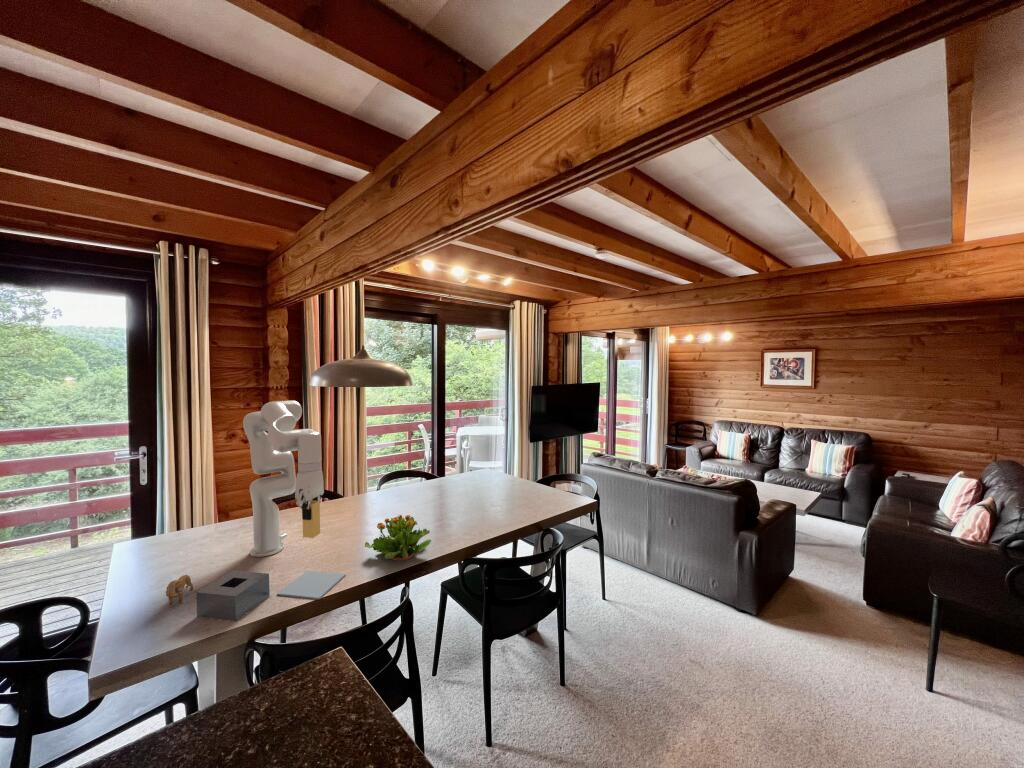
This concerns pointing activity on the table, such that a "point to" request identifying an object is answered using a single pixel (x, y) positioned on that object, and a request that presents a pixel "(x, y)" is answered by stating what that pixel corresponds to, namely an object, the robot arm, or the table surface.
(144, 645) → the table surface
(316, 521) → the peg
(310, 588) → the mat
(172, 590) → the brown animal figure
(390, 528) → the potted flower
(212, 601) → the hole block
